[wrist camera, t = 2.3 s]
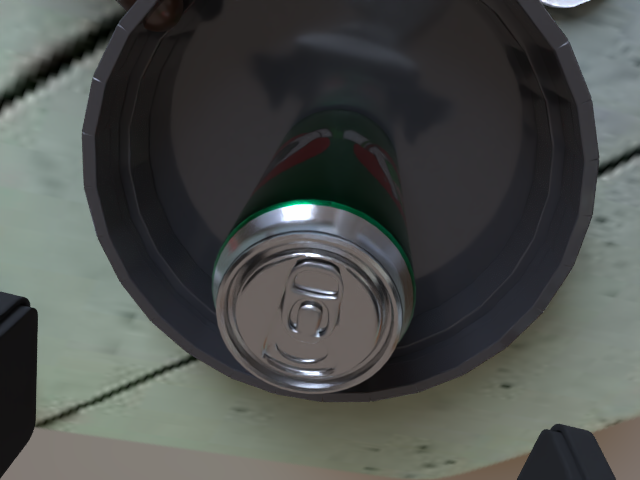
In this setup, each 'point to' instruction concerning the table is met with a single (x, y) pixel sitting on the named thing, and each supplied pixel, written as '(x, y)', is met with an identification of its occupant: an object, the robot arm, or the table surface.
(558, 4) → the spoon
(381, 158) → the soda can
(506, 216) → the pan
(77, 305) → the table surface
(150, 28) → the pan handle
